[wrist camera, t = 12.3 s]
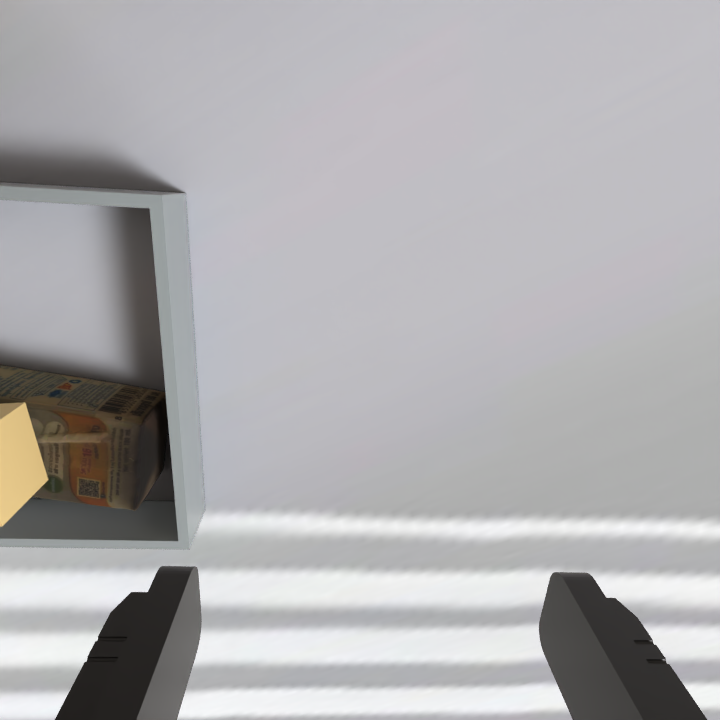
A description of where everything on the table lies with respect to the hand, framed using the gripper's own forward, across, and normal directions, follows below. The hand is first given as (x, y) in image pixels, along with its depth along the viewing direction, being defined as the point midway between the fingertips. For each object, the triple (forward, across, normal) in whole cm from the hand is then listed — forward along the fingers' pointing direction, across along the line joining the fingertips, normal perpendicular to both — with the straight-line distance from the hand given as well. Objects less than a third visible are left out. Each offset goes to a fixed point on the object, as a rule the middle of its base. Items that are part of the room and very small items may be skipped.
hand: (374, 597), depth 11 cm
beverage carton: (+29, +24, +10) cm, 39 cm away
